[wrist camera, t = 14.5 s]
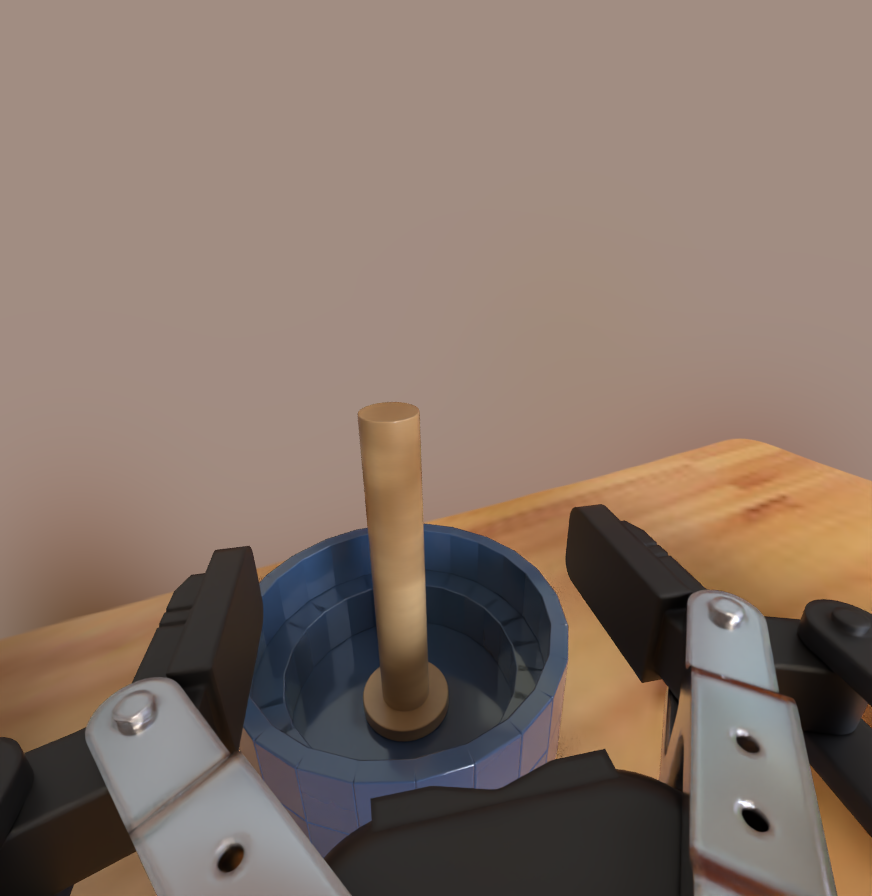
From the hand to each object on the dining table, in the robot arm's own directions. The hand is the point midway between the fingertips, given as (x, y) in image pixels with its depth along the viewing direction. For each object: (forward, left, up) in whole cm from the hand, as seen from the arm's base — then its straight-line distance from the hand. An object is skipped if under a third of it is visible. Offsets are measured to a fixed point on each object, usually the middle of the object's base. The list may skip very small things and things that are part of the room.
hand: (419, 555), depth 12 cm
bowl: (-1, +8, -15) cm, 17 cm away
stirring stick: (-1, +8, -15) cm, 17 cm away
